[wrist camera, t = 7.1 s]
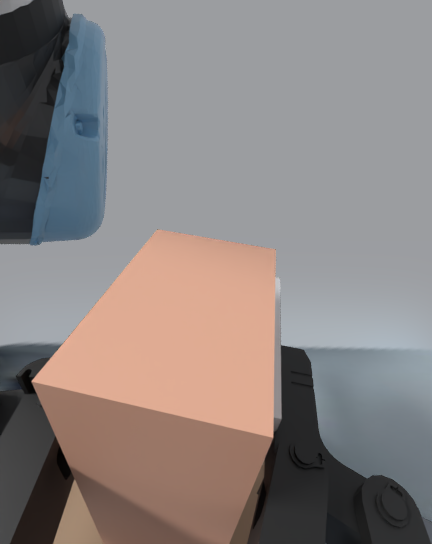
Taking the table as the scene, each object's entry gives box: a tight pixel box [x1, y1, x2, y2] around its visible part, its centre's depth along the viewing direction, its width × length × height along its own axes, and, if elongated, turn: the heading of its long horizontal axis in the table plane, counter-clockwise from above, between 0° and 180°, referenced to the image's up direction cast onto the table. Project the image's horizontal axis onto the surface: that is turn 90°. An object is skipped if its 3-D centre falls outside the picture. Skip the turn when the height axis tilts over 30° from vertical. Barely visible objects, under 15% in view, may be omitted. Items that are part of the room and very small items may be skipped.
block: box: [31, 229, 276, 544], centre depth 10 cm, size 4×6×10 cm, turn 169°
